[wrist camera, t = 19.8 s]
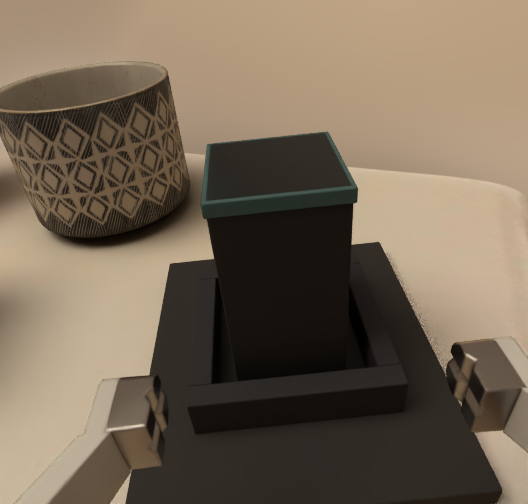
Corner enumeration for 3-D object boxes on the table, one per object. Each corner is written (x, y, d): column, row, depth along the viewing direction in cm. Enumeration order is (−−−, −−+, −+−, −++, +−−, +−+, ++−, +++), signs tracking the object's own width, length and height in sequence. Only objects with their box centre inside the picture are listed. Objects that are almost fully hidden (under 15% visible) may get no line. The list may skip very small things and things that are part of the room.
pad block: (347, 379, 20) (358, 187, 14) (236, 391, 20) (200, 204, 14) (327, 303, 24) (328, 130, 18) (234, 313, 24) (206, 143, 18)
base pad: (497, 503, 16) (518, 462, 14) (126, 543, 16) (102, 506, 14) (378, 253, 29) (381, 215, 27) (172, 274, 29) (163, 238, 27)
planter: (84, 271, 30) (23, 126, 24) (21, 213, 38) (-38, 92, 32) (221, 199, 37) (201, 72, 31) (144, 163, 45) (115, 55, 38)
